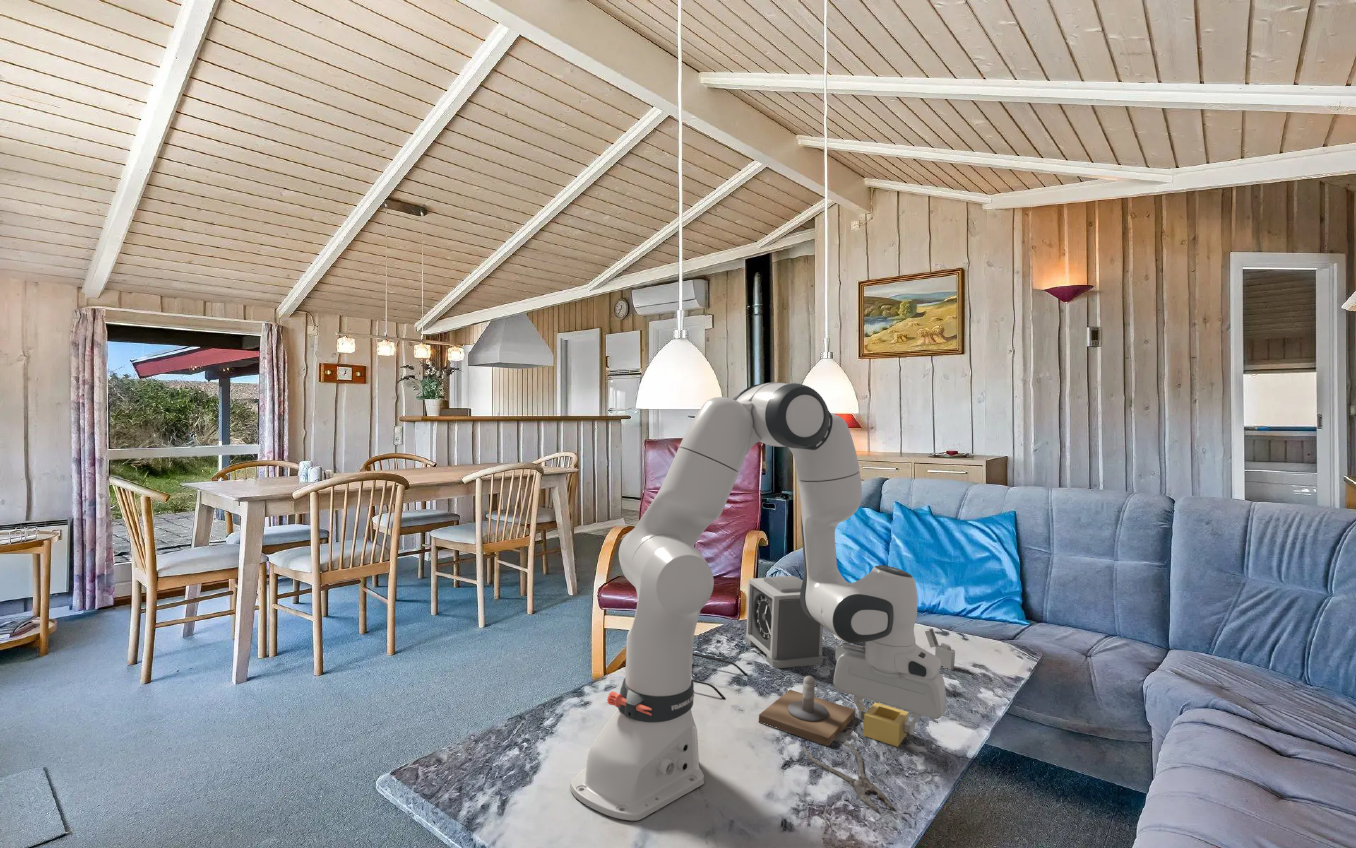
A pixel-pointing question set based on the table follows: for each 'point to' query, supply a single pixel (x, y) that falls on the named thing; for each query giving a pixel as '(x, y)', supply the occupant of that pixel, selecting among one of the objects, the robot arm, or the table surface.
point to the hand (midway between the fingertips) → (885, 725)
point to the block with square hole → (885, 724)
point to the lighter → (941, 650)
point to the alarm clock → (782, 623)
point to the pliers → (857, 781)
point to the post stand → (808, 715)
